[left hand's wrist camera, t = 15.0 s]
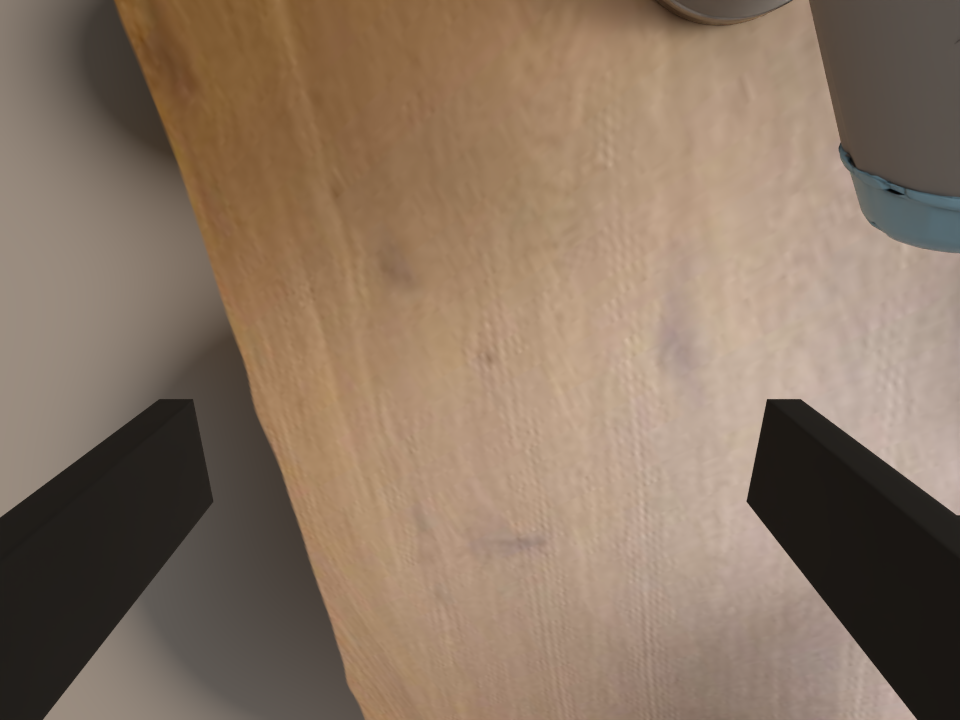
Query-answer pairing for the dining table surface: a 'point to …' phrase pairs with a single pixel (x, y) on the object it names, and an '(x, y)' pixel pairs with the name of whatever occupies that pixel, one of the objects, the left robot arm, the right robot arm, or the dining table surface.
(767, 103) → the dining table surface
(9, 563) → the left robot arm
